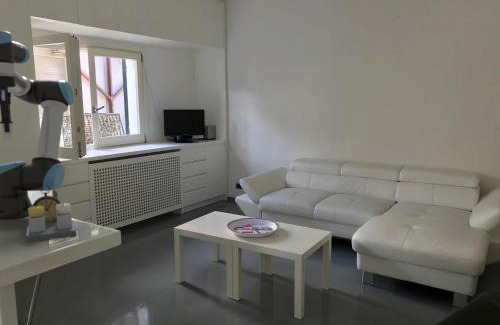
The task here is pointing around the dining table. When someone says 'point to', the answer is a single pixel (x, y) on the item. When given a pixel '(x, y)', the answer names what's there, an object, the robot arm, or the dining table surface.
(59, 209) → the knob ivory
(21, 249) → the dining table surface
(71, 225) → the mount
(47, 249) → the dining table surface
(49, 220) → the alarm clock
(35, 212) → the knob mustard
